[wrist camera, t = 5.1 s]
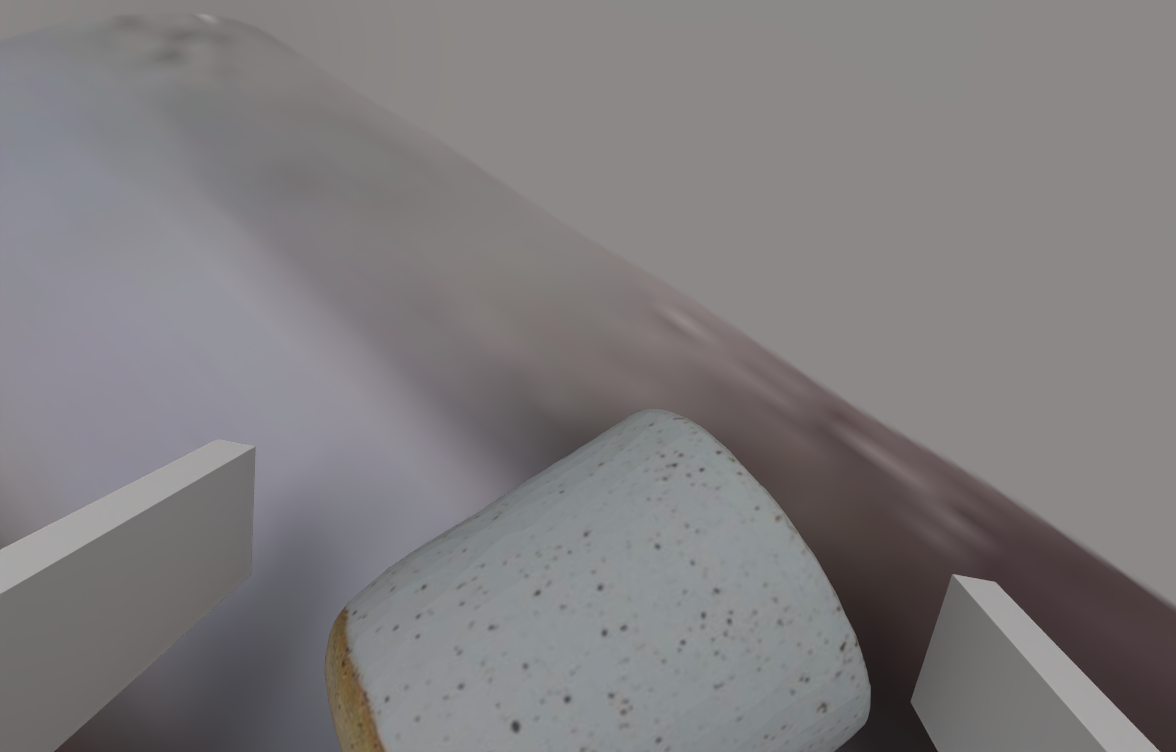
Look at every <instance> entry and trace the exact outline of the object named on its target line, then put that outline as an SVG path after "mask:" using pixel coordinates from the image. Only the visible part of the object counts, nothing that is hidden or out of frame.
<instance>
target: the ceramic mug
mask: <svg viewBox="0 0 1176 752" xmlns="http://www.w3.org/2000/svg"><path fill="white" fill-rule="evenodd" d="M325 677H326V685H327V693H328V701H329V705H330V710H331V714H332V718H333V723H334V727H335V730H336V734H337V737H338V740H339V743H340V746H341V749H342V752H834V751H835V750H837V749H838V748H839V747H840V746H841V745H843V744H844V743H845V742H846V741H848V740H849V739H850V738H851V737H852V736H853V735H854V734H855V733H856V732H857V731H858V730H859V729H860V728H861V727H862V726H863V725H864V724H865V723H866V721H867V719H868V715H869V711H870V698H871V686H870V683H869V679H868V674H867V669H866V666H865V662H864V659H863V656H862V653H861V649H860V647H859V644H858V641H857V637H856V634H855V632H854V631H853V629H852V627H851V625H850V623H849V621H848V619H847V617H846V615H845V613H844V610H843V608H842V606H841V604H840V601H839V599H838V597H837V594H836V593H835V591H834V589H833V587H832V586H831V584H830V582H829V580H828V578H827V577H826V575H825V573H824V571H823V570H822V568H821V566H820V564H819V563H818V561H817V559H816V557H815V555H814V554H813V553H812V551H811V550H810V549H809V547H808V546H807V545H806V543H805V542H804V541H803V539H802V538H801V536H800V535H799V533H798V531H797V530H796V529H795V527H794V526H793V524H792V523H791V521H790V520H789V518H788V517H787V516H786V514H785V513H784V512H783V510H782V509H781V507H780V506H779V505H778V504H777V503H776V501H775V500H774V499H773V498H772V496H771V495H770V494H769V493H768V492H767V490H766V489H765V488H764V487H763V486H762V485H761V484H760V483H759V482H758V481H756V479H755V478H754V477H753V476H752V475H751V474H750V473H749V472H748V471H747V470H746V469H745V468H744V467H743V466H742V464H741V463H740V462H739V461H738V460H737V459H736V458H735V457H734V456H733V454H732V453H731V452H730V451H729V450H728V449H727V448H726V447H724V446H723V445H722V444H721V443H720V442H719V441H718V440H716V439H715V438H714V437H713V436H712V435H711V434H710V433H708V432H707V431H706V430H705V429H704V428H702V427H700V426H699V425H697V424H695V423H694V422H692V421H691V420H689V419H687V418H685V417H683V416H680V415H678V414H675V413H673V412H670V411H667V410H663V409H647V410H641V411H638V412H636V413H634V414H632V415H630V416H629V417H627V418H626V419H625V420H623V421H621V422H620V423H618V424H617V425H615V426H613V427H612V428H610V429H609V430H607V431H606V432H604V433H602V434H601V435H599V436H598V437H597V438H595V439H594V440H592V441H590V442H589V443H587V444H585V445H584V446H582V447H580V448H579V449H577V450H576V451H574V452H573V453H572V454H571V455H569V456H567V457H565V458H563V459H561V460H560V461H558V462H556V463H555V464H553V465H551V466H550V467H549V468H547V469H545V470H544V471H542V472H540V473H539V474H537V475H535V476H534V477H532V478H530V479H529V480H527V481H525V482H524V483H523V484H521V485H519V486H518V487H516V488H515V489H513V490H512V491H510V492H509V493H507V494H505V495H504V496H502V497H501V498H499V499H498V500H496V501H494V502H493V503H491V504H490V505H488V506H487V507H486V508H485V509H483V510H482V511H480V512H478V513H477V514H475V515H473V516H472V517H470V518H468V519H467V520H465V521H463V522H461V523H460V524H458V525H456V526H455V527H453V528H451V529H449V530H448V531H446V532H444V533H443V534H441V535H439V536H438V537H436V538H434V539H433V540H431V541H429V542H428V543H426V544H425V545H423V546H421V547H420V548H418V549H417V550H415V551H413V552H412V553H410V554H409V555H408V556H406V557H405V558H403V559H402V560H400V561H399V562H397V563H396V564H394V565H393V566H391V567H389V568H388V569H387V570H386V571H385V572H384V573H383V574H382V575H380V576H379V577H378V578H377V579H376V580H374V581H373V582H372V583H371V584H370V585H368V586H367V587H366V588H365V589H363V590H362V591H361V592H360V593H359V594H358V595H356V596H355V597H354V598H353V599H352V600H351V601H350V602H348V604H347V605H346V606H345V608H344V609H343V610H342V611H341V613H340V614H339V616H338V617H337V619H336V620H335V622H334V624H333V627H332V630H331V632H330V635H329V641H328V646H327V652H326V657H325Z"/></svg>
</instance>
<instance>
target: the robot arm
mask: <svg viewBox="0 0 1176 752" xmlns="http://www.w3.org/2000/svg"><path fill="white" fill-rule="evenodd" d="M255 450H256V446H251V445H246V444H240V443H235V442H230V441H224V440H219V439H216V440H214V441H213V442H211V443H209V444H207V445H205V446H203V447H201V448H199V449H197V450H195V451H193V452H191V453H189V454H187V455H185V456H183V457H181V458H179V459H177V460H175V461H173V462H171V463H169V464H167V465H165V466H164V467H162V468H160V469H158V470H156V471H154V472H152V473H150V474H148V475H146V476H144V477H142V478H140V479H138V480H136V481H134V482H132V483H130V484H128V485H126V486H124V487H122V488H120V489H118V490H116V491H114V492H113V493H111V494H109V495H107V496H105V497H103V498H101V499H99V500H97V501H95V502H93V503H91V504H89V505H87V506H85V507H83V508H81V509H79V510H77V511H75V512H73V513H71V514H69V515H67V516H65V517H64V518H62V519H60V520H58V521H56V522H54V523H52V524H50V525H48V526H46V527H44V528H42V529H40V530H38V531H36V532H34V533H32V534H30V535H28V536H26V537H24V538H22V539H20V540H18V541H16V542H14V543H13V544H11V545H9V546H7V547H5V548H3V549H1V550H0V752H54V751H55V750H56V749H57V748H58V747H60V746H61V745H62V744H63V743H64V742H65V741H66V740H67V739H68V738H70V737H71V736H72V735H73V734H74V733H75V732H76V731H77V730H78V729H80V728H81V727H82V726H83V725H84V724H85V723H86V722H87V721H88V720H90V719H91V718H92V717H93V716H94V715H95V714H96V713H97V712H99V711H100V710H101V709H102V708H103V707H104V706H105V705H106V704H107V703H109V702H110V701H111V700H112V699H113V698H114V697H115V696H116V695H117V694H119V693H120V692H121V691H122V690H123V689H124V688H125V687H126V686H127V685H129V684H130V683H131V682H132V681H133V680H134V679H135V678H136V677H138V676H139V675H140V674H141V673H142V672H143V671H144V670H145V669H146V668H148V667H149V666H150V665H151V664H152V663H153V662H154V661H155V660H156V659H158V658H159V657H160V656H161V655H162V654H163V653H164V652H165V651H166V650H168V649H169V648H170V647H171V646H172V645H173V644H174V643H175V642H176V641H178V640H179V639H180V638H181V637H182V636H183V635H184V634H185V633H187V632H188V631H189V630H190V629H191V628H192V627H193V626H194V625H195V624H197V623H198V622H199V621H200V620H201V619H202V618H203V617H204V616H205V615H207V614H208V613H209V612H210V611H211V610H212V609H213V608H214V607H215V606H217V605H218V604H219V603H220V602H221V601H222V600H223V599H224V598H226V597H227V596H228V595H229V594H230V593H231V592H232V591H233V590H234V589H236V588H237V587H238V586H239V585H240V584H241V583H242V582H243V581H244V580H246V579H247V578H248V577H249V576H250V575H251V563H252V535H253V507H254V478H255ZM911 704H912V705H913V707H914V709H915V711H916V713H917V714H918V716H919V718H920V720H921V722H922V723H923V725H924V727H925V729H926V731H927V732H928V734H929V736H930V738H931V740H932V742H933V743H934V745H935V747H936V749H937V751H938V752H1160V751H1159V750H1158V749H1157V748H1156V747H1155V746H1154V745H1153V744H1152V743H1151V742H1150V741H1149V740H1148V739H1147V738H1146V737H1145V736H1144V735H1143V734H1142V733H1141V732H1140V731H1139V730H1138V729H1137V728H1136V727H1135V726H1134V725H1133V724H1132V723H1131V722H1130V720H1129V719H1128V718H1127V717H1126V716H1125V715H1124V714H1123V713H1122V712H1121V711H1120V710H1119V709H1118V708H1117V707H1116V706H1115V705H1114V704H1113V703H1112V702H1111V701H1110V700H1109V699H1108V698H1107V697H1106V696H1105V695H1104V694H1103V693H1102V692H1101V691H1100V690H1099V689H1098V687H1097V686H1096V685H1095V684H1094V683H1093V682H1092V681H1091V680H1090V679H1089V678H1088V677H1087V676H1086V675H1085V674H1084V673H1083V672H1082V671H1081V670H1080V669H1079V668H1078V667H1077V666H1076V665H1075V664H1074V663H1073V662H1072V661H1071V660H1070V659H1069V658H1068V657H1067V656H1066V654H1065V653H1064V652H1063V651H1062V650H1061V649H1060V648H1059V647H1058V646H1057V645H1056V644H1055V643H1054V642H1053V641H1052V640H1051V639H1050V638H1049V637H1048V636H1047V635H1046V634H1045V633H1044V632H1043V631H1042V630H1041V629H1040V628H1039V627H1038V626H1037V625H1036V624H1035V623H1034V621H1033V620H1032V619H1031V618H1030V617H1029V616H1028V615H1027V614H1026V613H1025V612H1024V611H1023V610H1022V609H1021V608H1020V607H1019V606H1018V605H1017V604H1016V603H1015V602H1014V601H1013V600H1012V599H1011V598H1010V597H1009V596H1008V595H1007V594H1006V593H1005V592H1004V591H1003V590H1002V588H1001V587H1000V586H999V585H998V584H997V583H996V582H992V581H987V580H981V579H976V578H970V577H965V576H960V575H954V574H952V577H951V580H950V583H949V586H948V589H947V592H946V595H945V598H944V601H943V604H942V607H941V610H940V614H939V617H938V620H937V623H936V626H935V629H934V632H933V635H932V638H931V641H930V644H929V647H928V650H927V653H926V656H925V659H924V662H923V665H922V668H921V671H920V674H919V677H918V680H917V683H916V687H915V690H914V693H913V696H912V699H911Z"/></svg>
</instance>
